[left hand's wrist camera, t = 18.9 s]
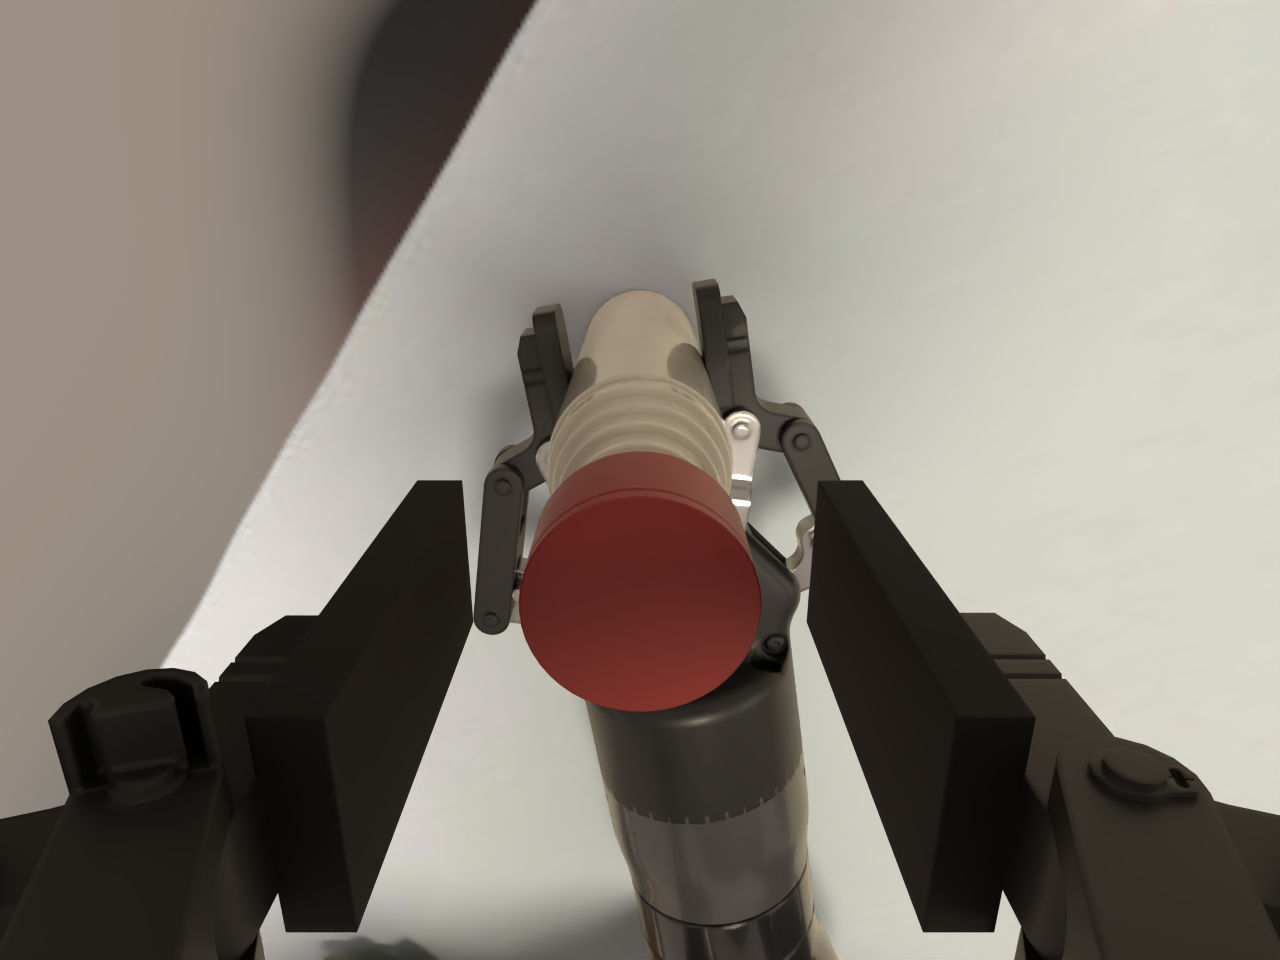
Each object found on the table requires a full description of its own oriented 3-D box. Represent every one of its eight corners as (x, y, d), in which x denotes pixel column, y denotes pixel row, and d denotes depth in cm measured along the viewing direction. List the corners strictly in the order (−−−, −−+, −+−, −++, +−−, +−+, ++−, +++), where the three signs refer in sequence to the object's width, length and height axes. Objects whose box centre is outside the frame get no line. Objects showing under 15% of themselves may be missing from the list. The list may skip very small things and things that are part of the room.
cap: (662, 675, 15) (665, 750, 13) (495, 571, 15) (471, 633, 13) (788, 527, 14) (812, 585, 12) (615, 407, 14) (610, 448, 12)
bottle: (701, 296, 32) (795, 480, 12) (686, 403, 33) (751, 715, 14) (591, 284, 31) (514, 451, 12) (581, 391, 33) (499, 691, 14)
